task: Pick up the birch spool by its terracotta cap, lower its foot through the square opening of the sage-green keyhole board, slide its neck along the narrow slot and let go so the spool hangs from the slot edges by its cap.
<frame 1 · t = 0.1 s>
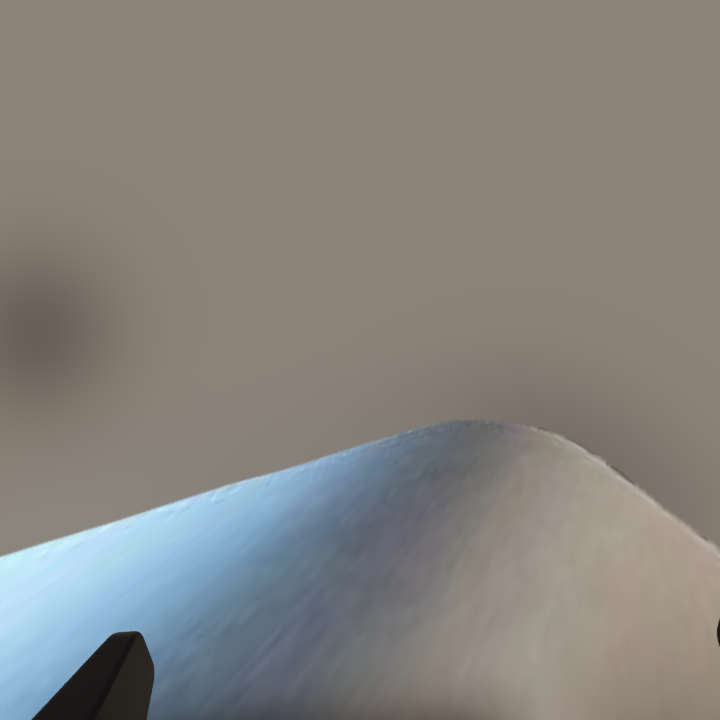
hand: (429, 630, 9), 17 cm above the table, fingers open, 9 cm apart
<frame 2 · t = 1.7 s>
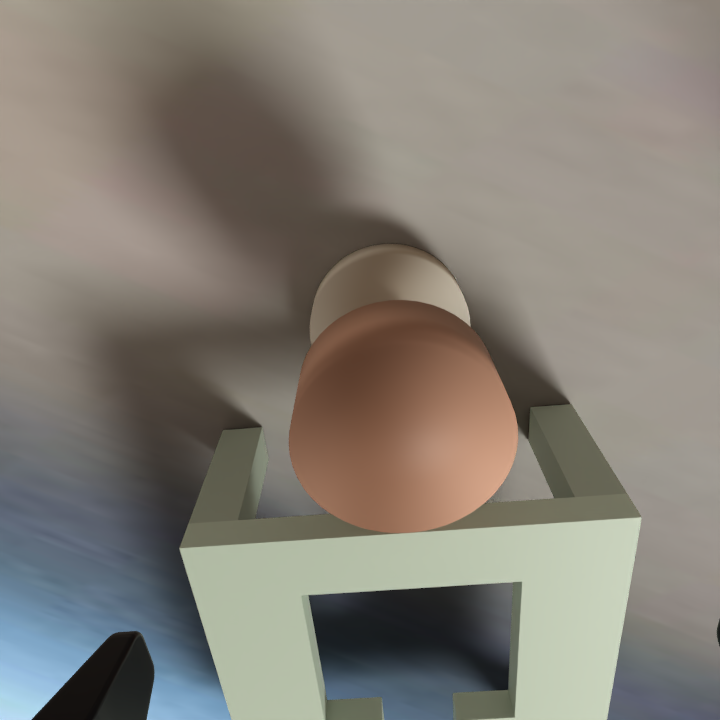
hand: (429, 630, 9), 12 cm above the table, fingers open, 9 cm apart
keyhole board: (407, 588, 26), on the table
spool: (388, 318, 20), on the table
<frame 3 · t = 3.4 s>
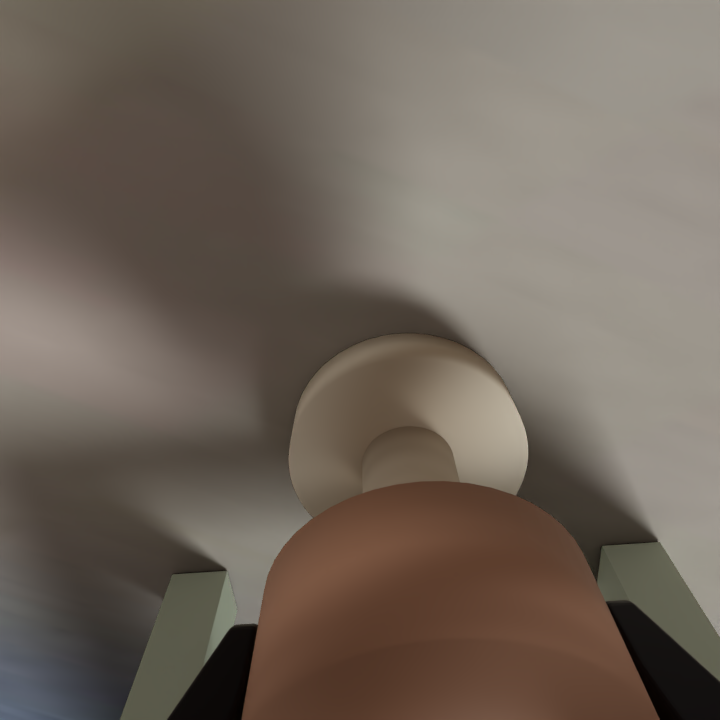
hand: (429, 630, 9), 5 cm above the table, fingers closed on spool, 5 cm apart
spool: (404, 433, 14), on the table, touching gripper
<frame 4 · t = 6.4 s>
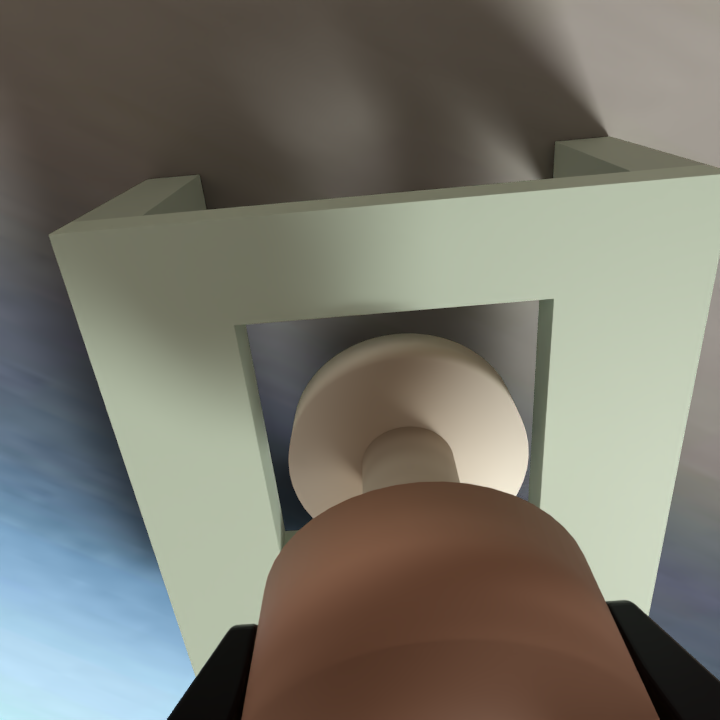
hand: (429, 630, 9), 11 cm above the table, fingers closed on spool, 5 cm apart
keyhole board: (394, 426, 20), on the table
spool: (404, 433, 14), point 6 cm above the table, touching gripper
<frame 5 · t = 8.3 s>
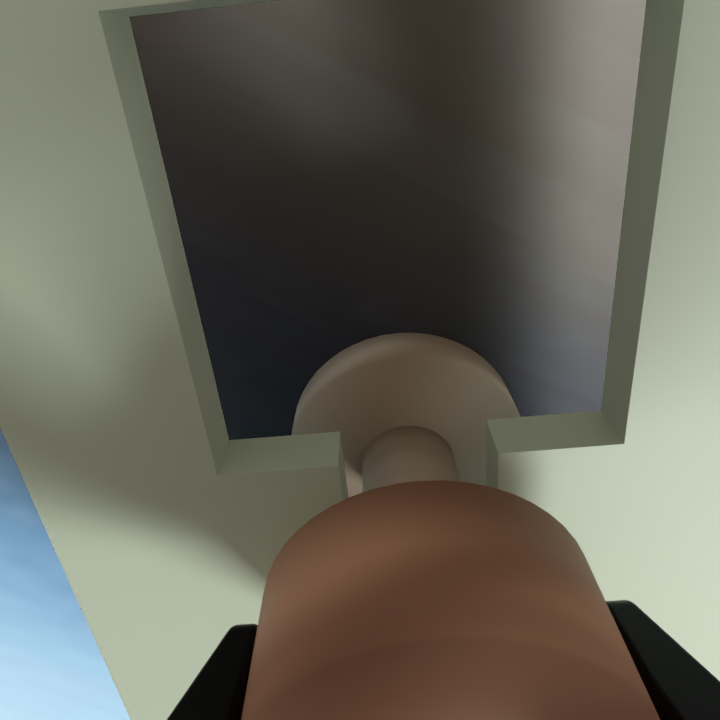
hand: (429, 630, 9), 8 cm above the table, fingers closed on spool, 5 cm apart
keyhole board: (397, 323, 15), on the table
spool: (404, 433, 14), point 2 cm above the table, touching gripper
when the fingers open (7 cm above the table, at t = 9.6 s): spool stays where it is, resting on keyhole board.
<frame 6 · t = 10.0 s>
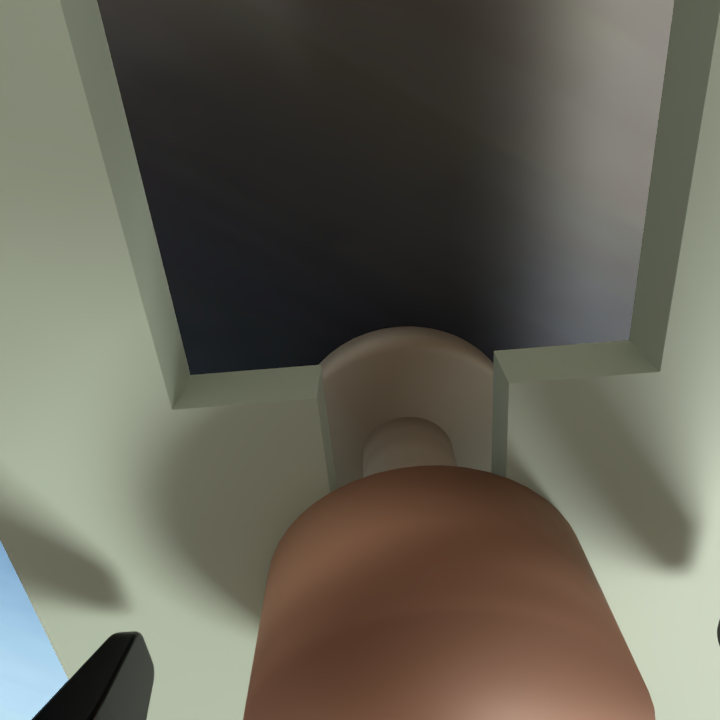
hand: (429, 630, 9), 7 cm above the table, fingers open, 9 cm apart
keyhole board: (390, 266, 13), on the table
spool: (403, 425, 14), point 1 cm above the table, touching keyhole board
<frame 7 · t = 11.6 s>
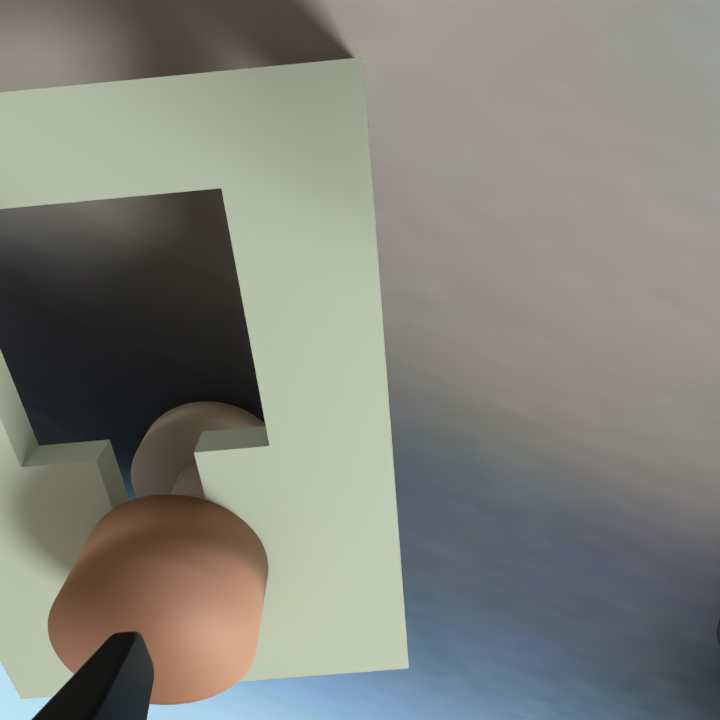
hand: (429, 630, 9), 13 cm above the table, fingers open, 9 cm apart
keyhole board: (197, 362, 21), on the table
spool: (213, 462, 22), point 1 cm above the table, touching keyhole board
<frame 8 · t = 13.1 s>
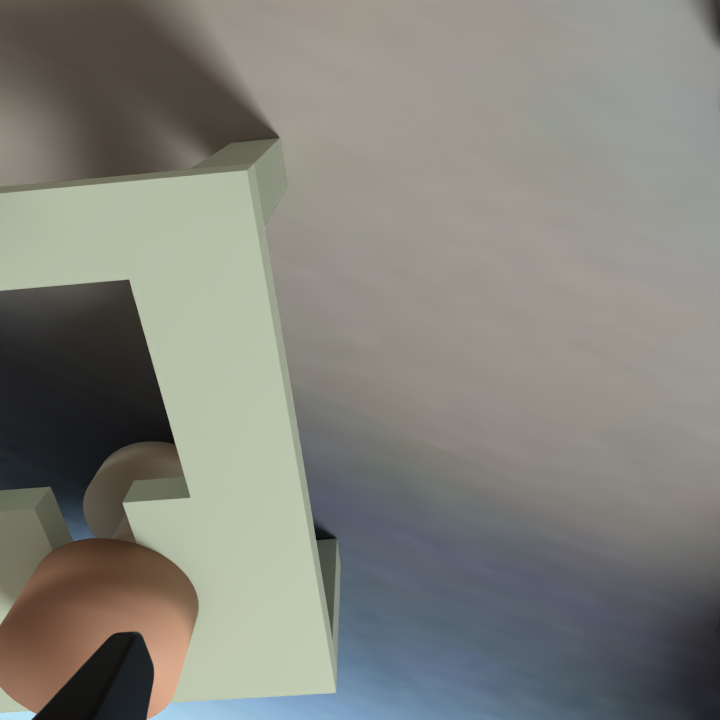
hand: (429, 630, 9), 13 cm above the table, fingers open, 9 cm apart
keyhole board: (146, 403, 22), on the table
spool: (163, 495, 23), point 1 cm above the table, touching keyhole board
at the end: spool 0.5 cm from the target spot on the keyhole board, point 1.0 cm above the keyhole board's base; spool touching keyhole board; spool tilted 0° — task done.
